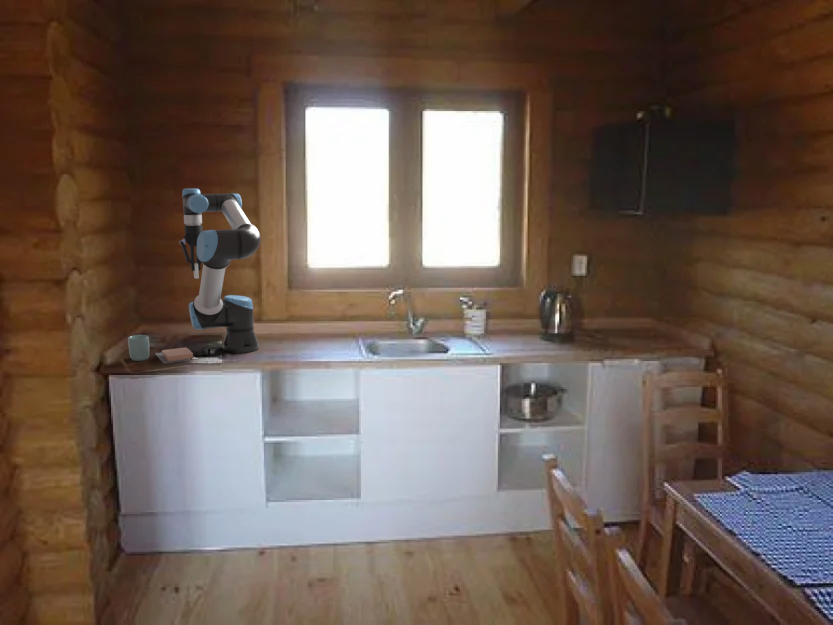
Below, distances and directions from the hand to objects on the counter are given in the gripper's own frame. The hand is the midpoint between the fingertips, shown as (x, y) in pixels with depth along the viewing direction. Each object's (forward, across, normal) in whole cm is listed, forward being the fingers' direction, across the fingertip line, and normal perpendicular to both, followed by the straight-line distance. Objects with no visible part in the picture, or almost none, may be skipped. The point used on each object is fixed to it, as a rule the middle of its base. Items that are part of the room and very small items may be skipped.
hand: (196, 278), depth 328 cm
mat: (+29, +15, +21) cm, 39 cm away
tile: (+27, +15, +18) cm, 36 cm away
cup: (+30, +29, +18) cm, 45 cm away
